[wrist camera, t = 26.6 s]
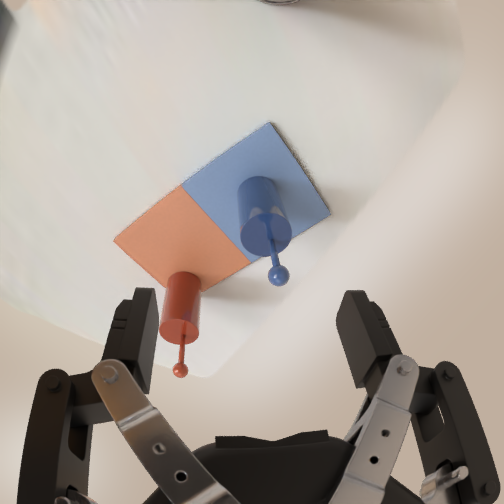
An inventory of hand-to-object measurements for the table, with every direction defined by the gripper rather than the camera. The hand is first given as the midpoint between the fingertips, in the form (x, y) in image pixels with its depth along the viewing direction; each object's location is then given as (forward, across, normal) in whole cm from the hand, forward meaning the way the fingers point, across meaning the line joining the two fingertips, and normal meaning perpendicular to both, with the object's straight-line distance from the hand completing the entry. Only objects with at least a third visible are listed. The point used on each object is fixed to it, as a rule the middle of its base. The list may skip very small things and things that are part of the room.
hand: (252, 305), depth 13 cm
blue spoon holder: (+29, +4, -9) cm, 31 cm away
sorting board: (+30, -1, -14) cm, 33 cm away
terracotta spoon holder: (+29, -6, -25) cm, 39 cm away
